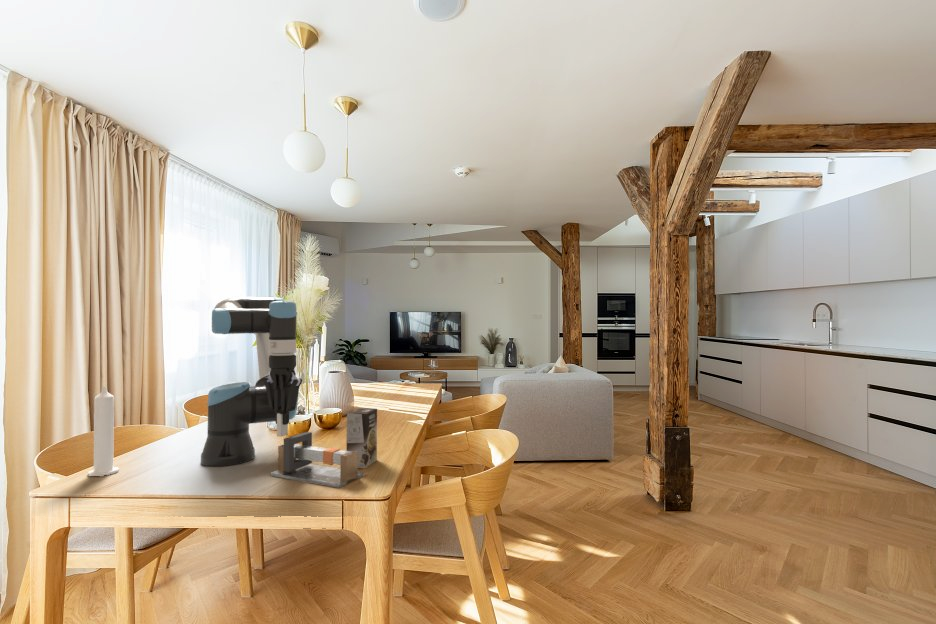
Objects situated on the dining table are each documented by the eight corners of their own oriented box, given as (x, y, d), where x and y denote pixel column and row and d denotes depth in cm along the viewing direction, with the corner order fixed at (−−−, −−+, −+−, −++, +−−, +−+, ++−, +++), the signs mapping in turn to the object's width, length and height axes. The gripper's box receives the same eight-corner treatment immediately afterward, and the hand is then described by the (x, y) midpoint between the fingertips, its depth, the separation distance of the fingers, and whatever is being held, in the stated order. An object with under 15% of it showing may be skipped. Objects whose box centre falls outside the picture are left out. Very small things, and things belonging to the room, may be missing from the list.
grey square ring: (283, 471, 136) (283, 438, 136) (306, 462, 144) (306, 431, 144) (289, 472, 135) (289, 439, 135) (311, 463, 143) (311, 432, 143)
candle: (85, 478, 134) (86, 387, 134) (90, 471, 140) (91, 384, 141) (116, 474, 137) (117, 385, 138) (120, 467, 144) (121, 382, 144)
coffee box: (365, 469, 143) (366, 413, 143) (345, 467, 144) (345, 412, 144) (377, 460, 152) (378, 408, 152) (358, 458, 153) (358, 407, 153)
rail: (269, 475, 137) (270, 447, 137) (298, 464, 147) (298, 439, 147) (339, 487, 127) (339, 458, 127) (364, 475, 137) (364, 447, 137)
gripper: (255, 354, 142) (255, 436, 141) (290, 355, 136) (289, 440, 136) (275, 352, 148) (275, 430, 148) (309, 354, 143) (308, 434, 143)
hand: (282, 435), depth 142 cm, fingers closed
